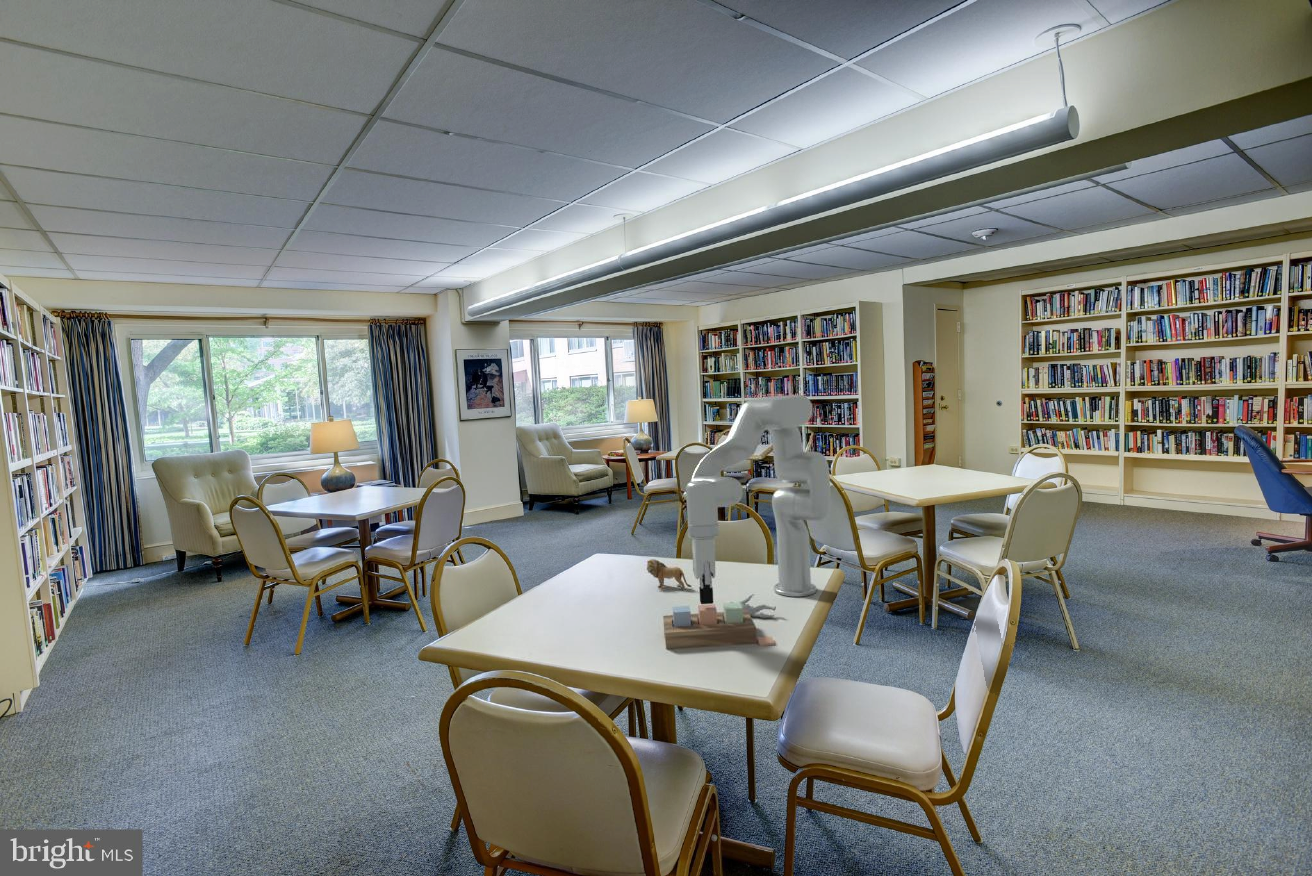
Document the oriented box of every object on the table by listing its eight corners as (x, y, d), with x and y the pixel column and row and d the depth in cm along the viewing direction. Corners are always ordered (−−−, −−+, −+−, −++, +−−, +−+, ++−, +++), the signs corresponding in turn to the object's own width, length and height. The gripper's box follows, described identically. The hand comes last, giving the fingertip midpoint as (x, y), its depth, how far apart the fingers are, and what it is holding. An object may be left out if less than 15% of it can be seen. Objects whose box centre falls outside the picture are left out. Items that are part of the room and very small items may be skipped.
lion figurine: (645, 588, 200) (643, 561, 200) (650, 583, 205) (649, 556, 205) (689, 590, 195) (687, 562, 195) (693, 585, 200) (692, 558, 200)
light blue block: (673, 628, 159) (672, 606, 158) (690, 627, 159) (689, 605, 158) (674, 634, 154) (673, 612, 154) (691, 633, 155) (690, 611, 154)
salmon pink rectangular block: (699, 626, 159) (698, 605, 159) (715, 625, 159) (714, 604, 159) (700, 632, 155) (699, 610, 154) (717, 631, 155) (716, 609, 154)
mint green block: (724, 624, 159) (723, 603, 159) (740, 623, 159) (739, 602, 159) (726, 630, 155) (725, 609, 154) (743, 629, 155) (742, 608, 155)
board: (664, 630, 163) (663, 615, 162) (747, 625, 163) (747, 610, 163) (666, 648, 151) (665, 632, 150) (756, 643, 151) (755, 626, 151)
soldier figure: (771, 626, 164) (727, 612, 166) (768, 633, 168) (725, 619, 170) (777, 600, 169) (734, 586, 171) (774, 607, 173) (732, 593, 175)
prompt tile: (756, 640, 153) (756, 637, 153) (771, 639, 153) (771, 636, 153) (759, 645, 149) (759, 643, 149) (774, 644, 150) (774, 642, 150)
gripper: (685, 525, 163) (689, 594, 164) (690, 537, 148) (694, 613, 149) (714, 523, 163) (717, 593, 164) (722, 536, 148) (725, 612, 149)
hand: (706, 602), depth 156 cm, fingers closed
